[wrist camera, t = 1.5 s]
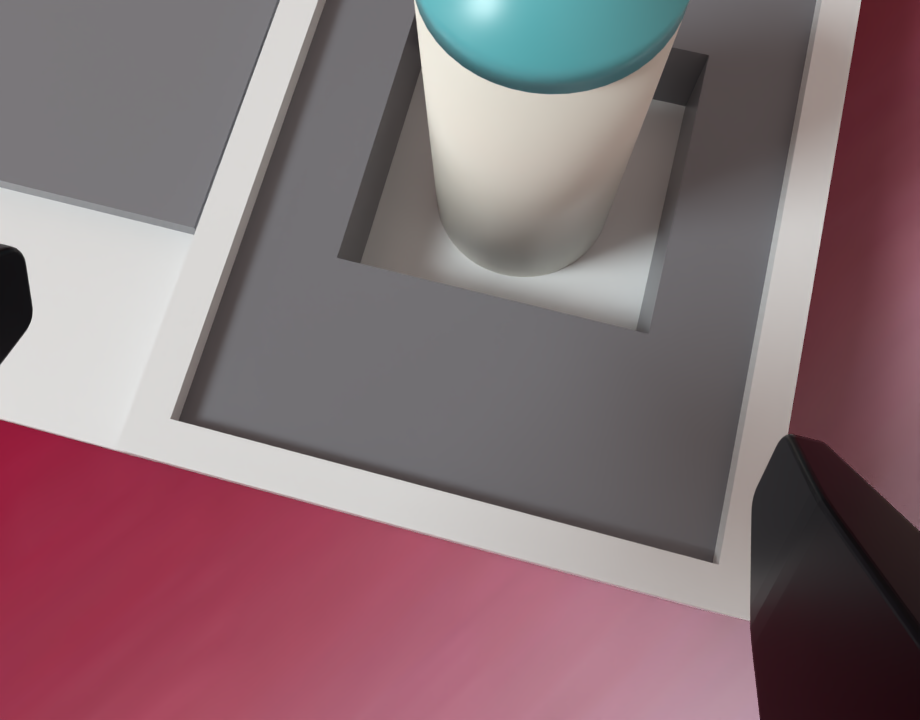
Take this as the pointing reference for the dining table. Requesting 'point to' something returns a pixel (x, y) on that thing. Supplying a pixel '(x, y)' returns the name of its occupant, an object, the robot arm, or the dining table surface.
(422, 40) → the ball
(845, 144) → the dining table surface
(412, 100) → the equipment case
